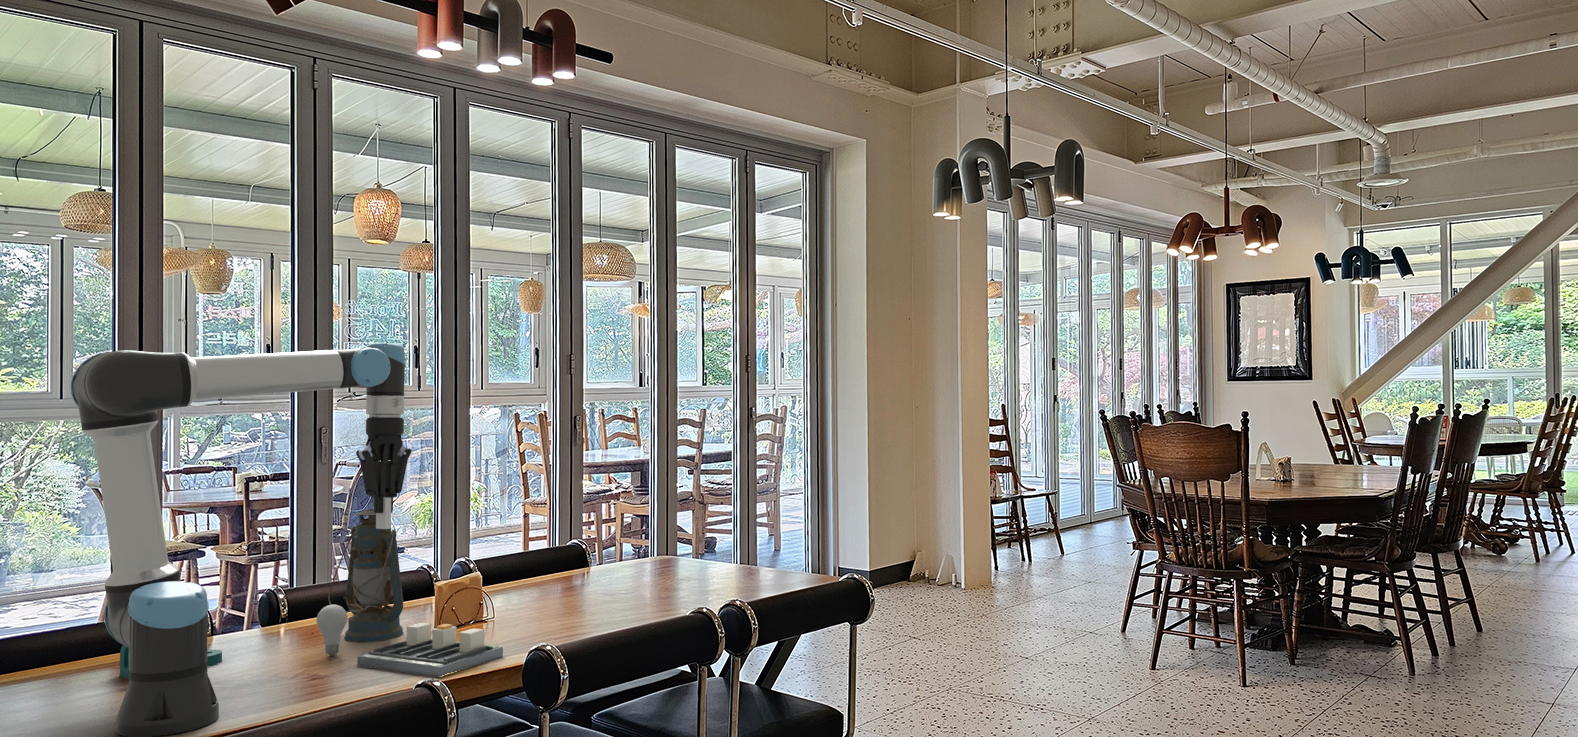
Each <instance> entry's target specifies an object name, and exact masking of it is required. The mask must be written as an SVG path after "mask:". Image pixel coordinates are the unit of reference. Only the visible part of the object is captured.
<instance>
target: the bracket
mask: <svg viewBox="0 0 1578 737" xmlns="http://www.w3.org/2000/svg"><path fill="white" fill-rule="evenodd" d="M222 662H223V651H222V649H207V667H210V666H214V665H215V666H216V665H218V664H221V663H222ZM119 676H120V677H121V678H122V677H123V678H125V679H126V680H129V648H128V647H126V646H125V645H123V644H122V646H121V648H120V651H119Z"/></svg>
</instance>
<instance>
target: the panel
mask: <svg viewBox="0 0 1578 737" xmlns="http://www.w3.org/2000/svg"><path fill="white" fill-rule="evenodd" d="M502 657H504V647H503V646H499V645H490V644H484V646H483V647H480V648H477V649H473V650H470V651H467V652H460V641H458V640H457V643H455V644H452V645H449V646H445V647H442V648H439V649H434V648H432V637H431V640H428V641H425V642H422V643H418V644H415V645H407V639H406V640H403V641H400V642H396V643H392V644H389V645H386V646H383V647H378V648H376V649H373V650H371V651H368V652H367V653H363V654H359V655H357V656H356V659H357V662H356V664H357V665H356V666H358V667H363V668H371V669H377V670H384V671H390V672H400V673H405V674H406V673H407V674H411V675H412V674H414V675H419V676H420V675H422V676H429V677H435V678H439V677H438V676H442V675H445V674H447V673H451V672H455V671H459V670H462V669H464V670H466V668H467V669H470V668H473V667H477V666H478V665H481V664H485V663H487V662H490V661H493V660H496V659H499V658H502ZM469 667H470V668H469ZM462 671H463V670H462ZM459 672H460V671H459Z"/></svg>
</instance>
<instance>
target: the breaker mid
mask: <svg viewBox="0 0 1578 737" xmlns="http://www.w3.org/2000/svg"><path fill="white" fill-rule="evenodd" d="M457 630H458V629H457V626H455V625H454V626H453V624H452V623H451V624H449V623H442V624H440V625H436V628H433V629H432V628H431V638H432V648H434V649H439V648H442V647H445V646H449V645H452V644H455V643H457V641H458V638H457V637H458V635H457V634H458V633H457V632H458V631H457Z"/></svg>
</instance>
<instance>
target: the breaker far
mask: <svg viewBox="0 0 1578 737" xmlns="http://www.w3.org/2000/svg"><path fill="white" fill-rule="evenodd" d="M431 638H432V623H428V622H427V623H425V622H419V623H415V624H410V625H407V626H406V640H407V645H415V644H418V643H422V642H425V641H428V640H431Z"/></svg>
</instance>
